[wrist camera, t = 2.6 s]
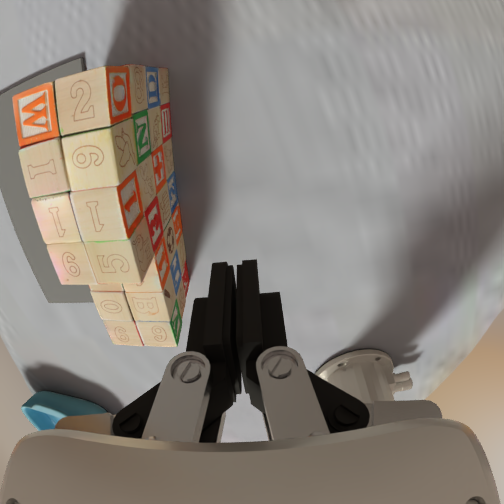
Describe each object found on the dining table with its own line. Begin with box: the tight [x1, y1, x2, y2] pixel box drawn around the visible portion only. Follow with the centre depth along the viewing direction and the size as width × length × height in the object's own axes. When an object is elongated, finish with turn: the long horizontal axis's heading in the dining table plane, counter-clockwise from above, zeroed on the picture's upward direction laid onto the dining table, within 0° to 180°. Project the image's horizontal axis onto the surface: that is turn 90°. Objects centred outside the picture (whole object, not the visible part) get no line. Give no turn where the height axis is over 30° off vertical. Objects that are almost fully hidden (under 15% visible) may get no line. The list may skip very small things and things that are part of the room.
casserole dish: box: [21, 391, 108, 431], centre depth 52 cm, size 37×22×7 cm, turn 177°
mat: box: [0, 58, 94, 303], centre depth 27 cm, size 14×26×1 cm, turn 5°
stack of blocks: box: [12, 64, 190, 347], centre depth 22 cm, size 21×6×12 cm, turn 1°
